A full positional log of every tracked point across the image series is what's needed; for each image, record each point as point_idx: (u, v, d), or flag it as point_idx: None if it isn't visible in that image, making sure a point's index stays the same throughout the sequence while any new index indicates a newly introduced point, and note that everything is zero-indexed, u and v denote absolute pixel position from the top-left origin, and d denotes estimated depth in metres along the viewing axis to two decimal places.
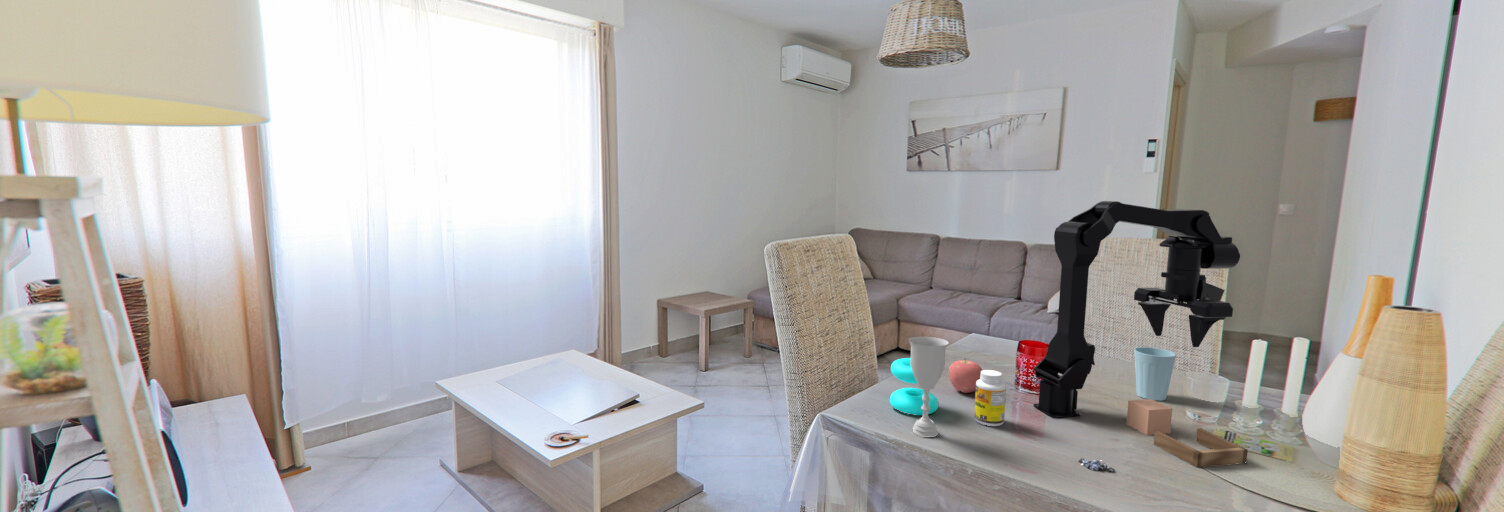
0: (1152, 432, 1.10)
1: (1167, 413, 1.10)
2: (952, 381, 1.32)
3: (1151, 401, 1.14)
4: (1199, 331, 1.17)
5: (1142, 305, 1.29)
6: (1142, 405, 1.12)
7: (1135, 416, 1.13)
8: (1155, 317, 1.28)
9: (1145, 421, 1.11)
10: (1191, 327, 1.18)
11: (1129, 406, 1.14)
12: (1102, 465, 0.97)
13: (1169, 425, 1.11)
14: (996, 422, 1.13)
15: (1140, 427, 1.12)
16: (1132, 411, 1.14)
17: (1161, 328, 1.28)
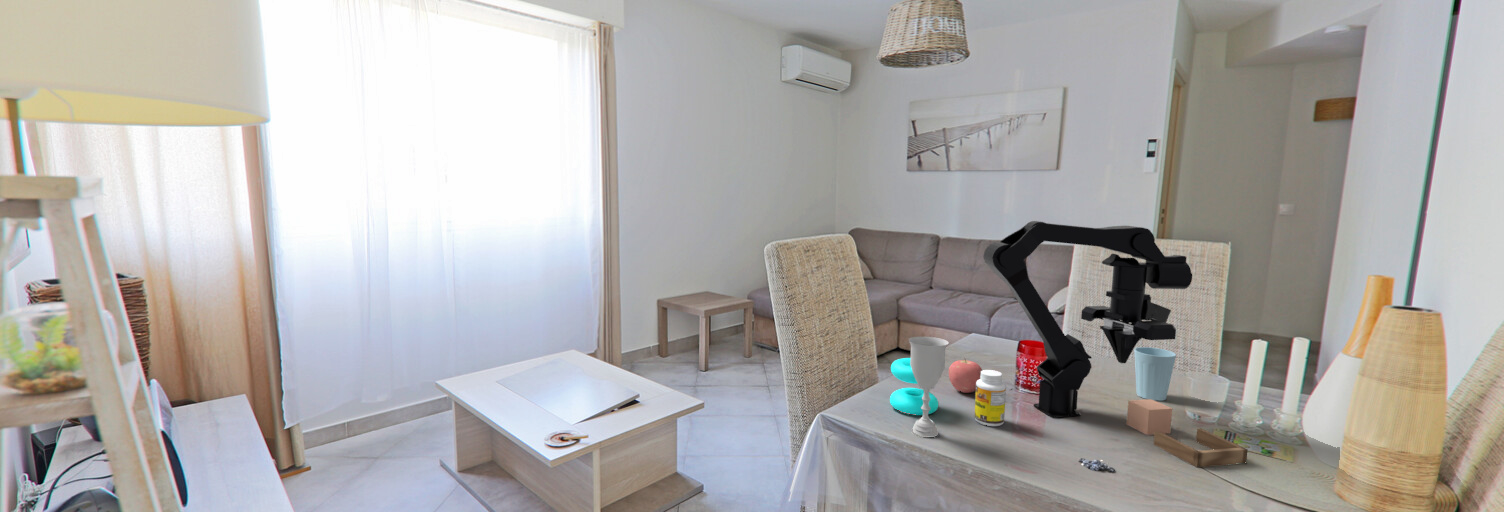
0: (1152, 432, 1.10)
1: (1167, 413, 1.10)
2: (952, 381, 1.32)
3: (1151, 401, 1.14)
4: (1125, 348, 1.17)
5: (1104, 329, 1.20)
6: (1143, 405, 1.12)
7: (1135, 416, 1.13)
8: None
9: (1145, 421, 1.11)
10: (1117, 343, 1.17)
11: (1129, 406, 1.14)
12: (1102, 465, 0.97)
13: (1169, 425, 1.11)
14: (996, 422, 1.13)
15: (1140, 427, 1.12)
16: (1132, 411, 1.14)
17: None
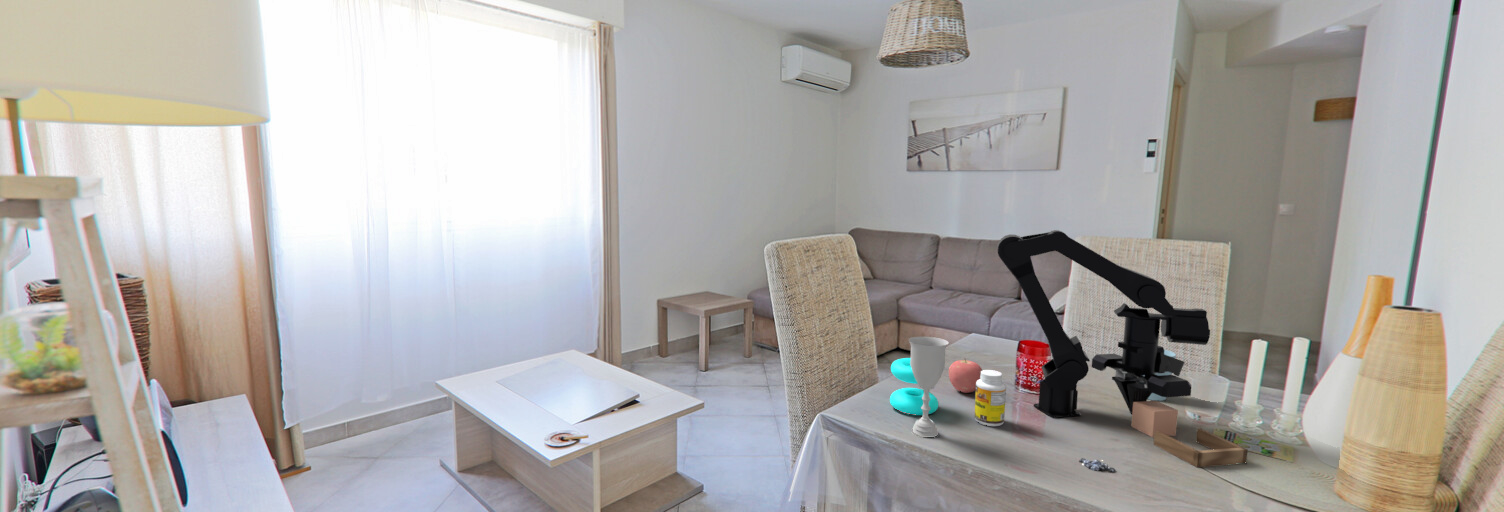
0: None
1: (1172, 415, 1.09)
2: (952, 381, 1.32)
3: (1156, 403, 1.13)
4: (1138, 400, 1.14)
5: (1116, 381, 1.17)
6: (1148, 406, 1.11)
7: (1140, 417, 1.12)
8: None
9: (1150, 423, 1.09)
10: (1130, 396, 1.15)
11: (1134, 408, 1.13)
12: (1103, 465, 0.97)
13: (1174, 427, 1.10)
14: (996, 422, 1.13)
15: (1145, 429, 1.11)
16: (1137, 413, 1.12)
17: None
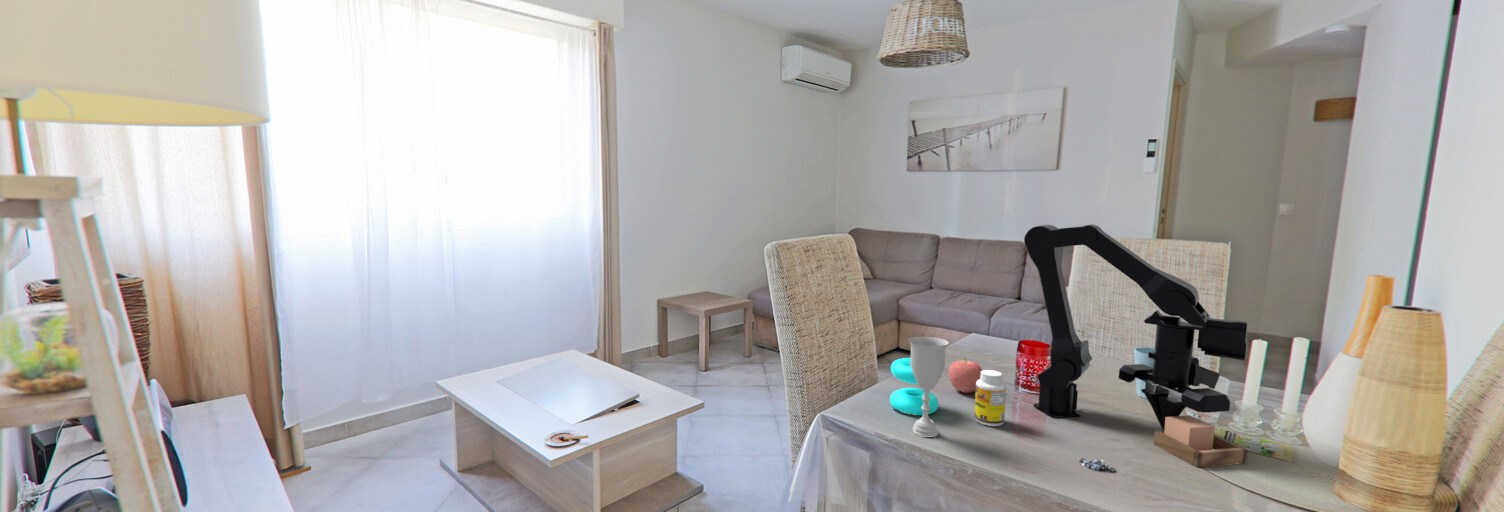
0: None
1: (1209, 431, 1.02)
2: (952, 381, 1.32)
3: (1190, 418, 1.05)
4: (1170, 415, 1.07)
5: (1146, 394, 1.10)
6: (1182, 422, 1.04)
7: (1173, 433, 1.04)
8: None
9: (1185, 440, 1.02)
10: (1161, 410, 1.07)
11: (1166, 423, 1.06)
12: (1103, 465, 0.97)
13: (1211, 444, 1.02)
14: (996, 422, 1.13)
15: None
16: (1170, 429, 1.05)
17: None
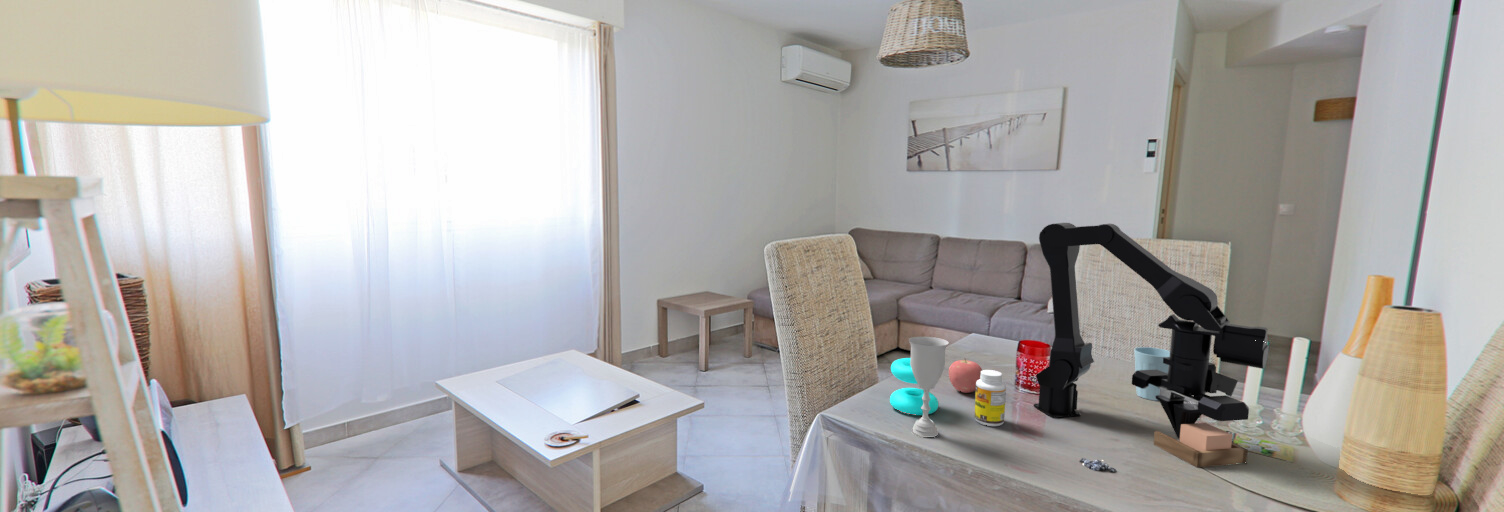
0: None
1: (1226, 439, 0.98)
2: (952, 381, 1.32)
3: (1206, 425, 1.02)
4: (1186, 423, 1.04)
5: (1161, 400, 1.06)
6: (1198, 430, 1.00)
7: (1189, 442, 1.01)
8: None
9: (1201, 449, 0.99)
10: (1176, 418, 1.04)
11: (1182, 431, 1.02)
12: (1103, 465, 0.97)
13: None
14: (996, 422, 1.13)
15: None
16: (1186, 437, 1.02)
17: None
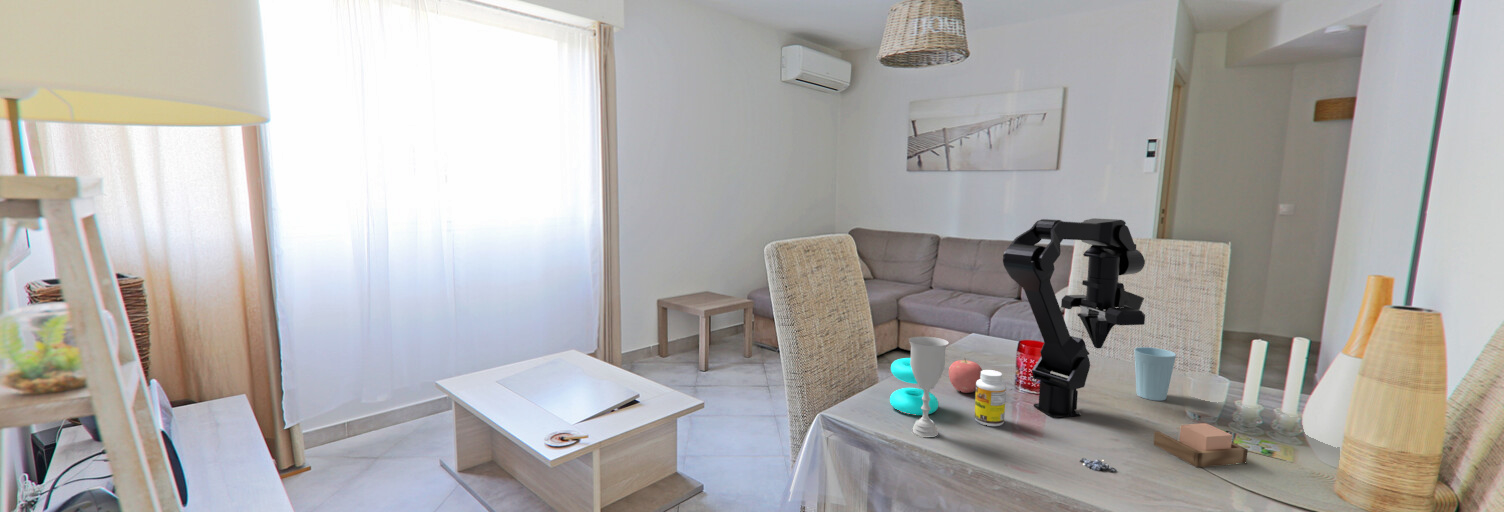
0: None
1: (1226, 440, 0.98)
2: (952, 381, 1.32)
3: (1206, 426, 1.02)
4: (1100, 333, 1.24)
5: (1081, 316, 1.27)
6: (1198, 430, 1.00)
7: (1189, 442, 1.01)
8: None
9: (1201, 449, 0.99)
10: (1092, 329, 1.25)
11: (1182, 431, 1.02)
12: (1104, 465, 0.97)
13: None
14: (996, 422, 1.13)
15: None
16: (1185, 437, 1.02)
17: None
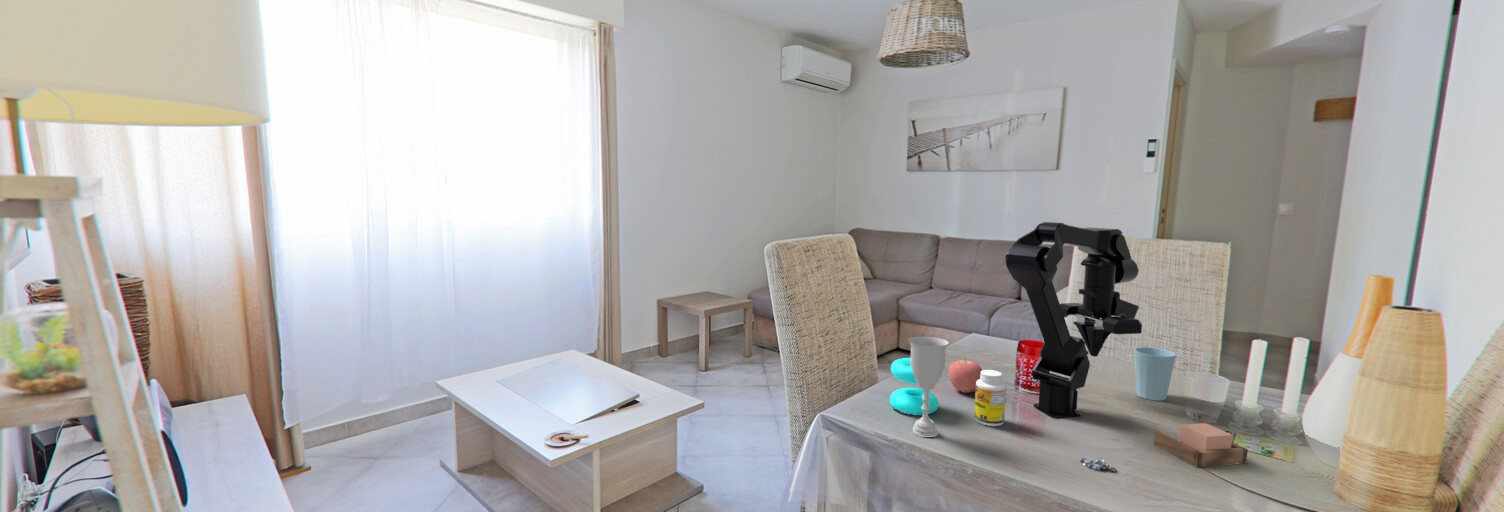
0: None
1: (1226, 440, 0.98)
2: (952, 381, 1.32)
3: (1206, 426, 1.02)
4: (1097, 342, 1.25)
5: (1077, 325, 1.28)
6: (1198, 430, 1.00)
7: (1189, 442, 1.01)
8: None
9: (1201, 449, 0.99)
10: (1089, 338, 1.25)
11: (1182, 431, 1.02)
12: (1104, 465, 0.97)
13: None
14: (996, 422, 1.13)
15: None
16: (1185, 437, 1.02)
17: None
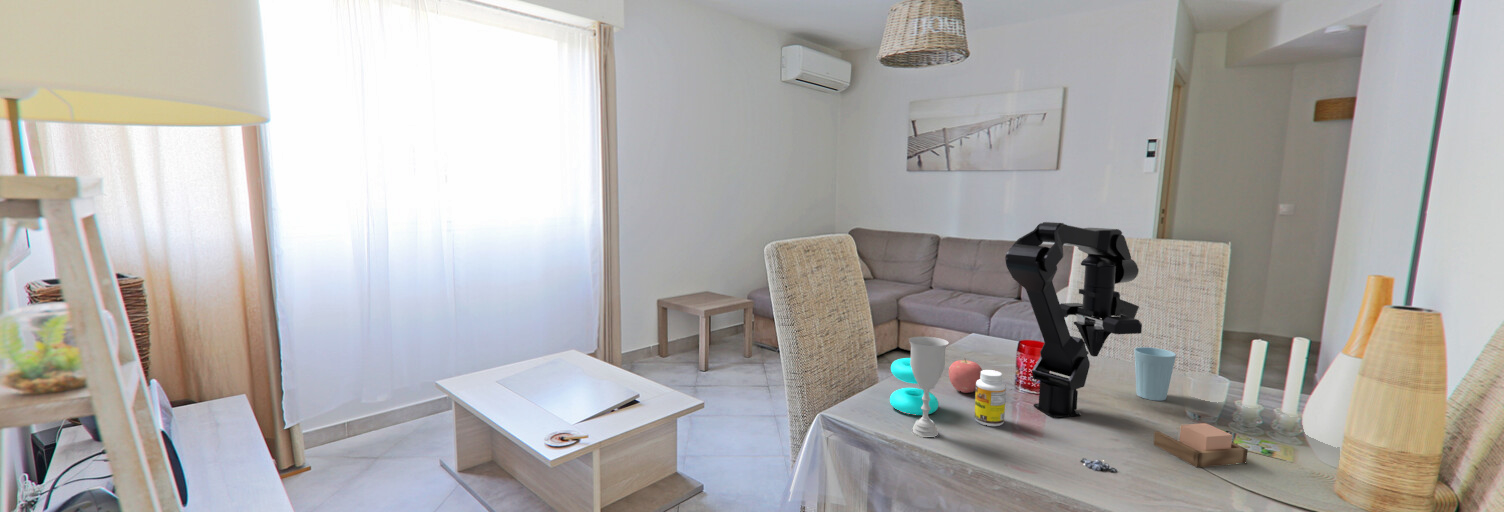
0: None
1: (1226, 440, 0.98)
2: (952, 381, 1.32)
3: (1206, 426, 1.02)
4: (1097, 342, 1.25)
5: (1077, 325, 1.28)
6: (1198, 430, 1.00)
7: (1189, 442, 1.01)
8: None
9: (1201, 449, 0.99)
10: (1089, 338, 1.25)
11: (1182, 431, 1.02)
12: (1104, 465, 0.97)
13: None
14: (996, 422, 1.13)
15: None
16: (1185, 437, 1.02)
17: None
